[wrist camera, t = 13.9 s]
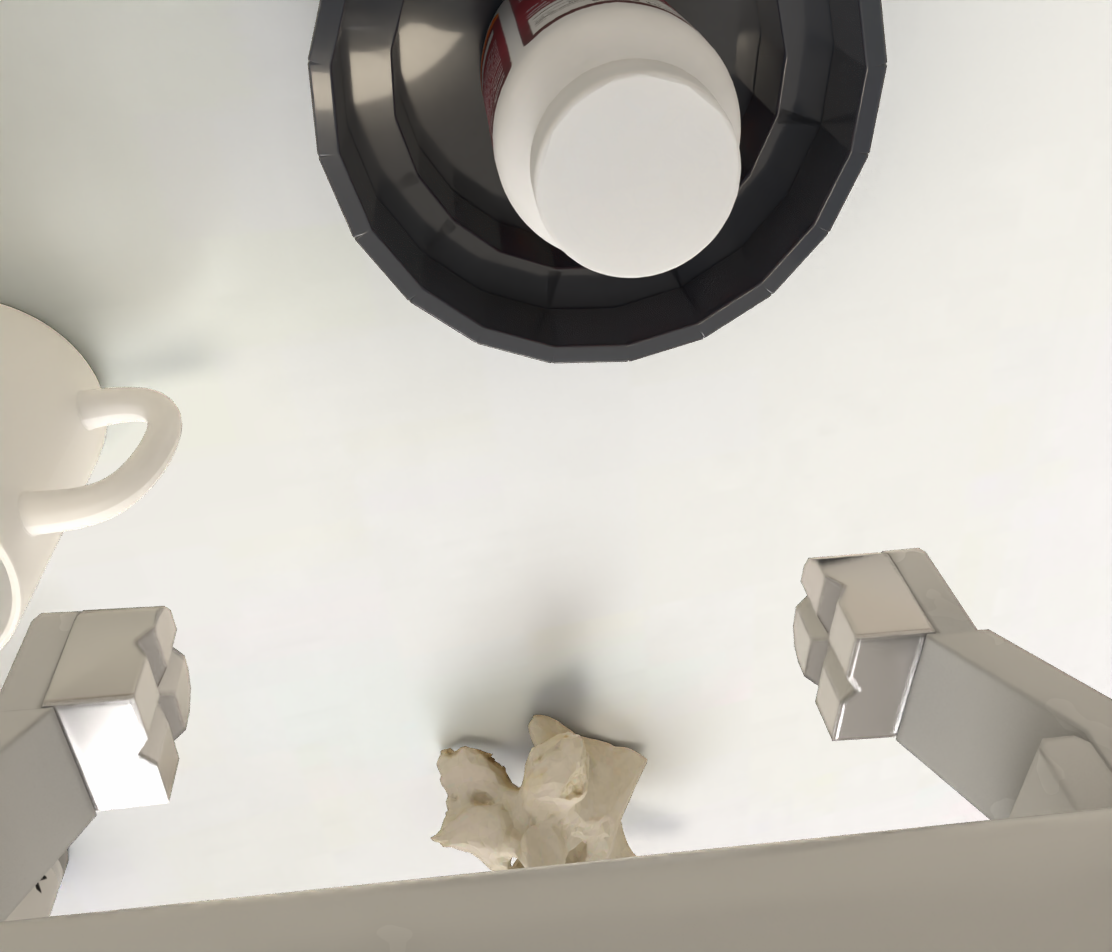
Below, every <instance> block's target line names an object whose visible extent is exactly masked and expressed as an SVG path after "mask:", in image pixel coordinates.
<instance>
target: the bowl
mask: <svg viewBox="0 0 1112 952" xmlns="http://www.w3.org/2000/svg"><path fill="white" fill-rule="evenodd" d="M503 1H504V0H320V3H319V8H318V12H317V17H316V22H315V27H314V32H313V37H312V41H311V46H310V51H309V56H308V60H309V62H308V70H309V80H310V89H311V98H312V107H313V117H314V126H315V135H316V145H317V153H318V155H319V160H320V163H321V165H322V167H323V169H324V172H325V174H326V176H327V179H328V181H329V183H330V185H331V188H332V190H333V192H334V195H335V197H336V199H337V201H338V204H339V206H340V208H341V211H342V213H343V215H344V217H345V220H346V222H347V224H348V226H349V229H350V231H351V233H352V236H353V237H355V240H356V241H357V242H358V244H359V245H360V246H361V247H362V248H363V249H364V250H365V252H366V253H367V254H368V255H369V256H370V257H371V259H372V260H373V261H374V262H375V263H376V264H377V265H378V267H379V268H380V269H381V270H382V271H383V272H384V273H385V275H386V276H387V277H388V278H389V279H390V280H391V282H392V283H393V284H394V285H395V286H396V287H397V288H398V290H399V291H400V292H401V293H402V294H403V295H404V296H405V298H406V299H407V300H410V302H411V303H412V304H414V305H416V306H417V307H419V308H420V309H422V310H424V311H425V312H427V313H428V314H430V315H432V316H433V317H435V318H437V319H438V320H440V321H441V322H443V323H445V324H446V325H448V326H449V327H451V328H453V329H454V330H456V331H457V332H459V333H461V334H462V335H464V336H466V337H467V338H469V339H470V340H472V341H474V342H477V343H478V344H480V345H484V346H488V347H492V348H495V349H499V350H503V351H506V352H510V353H514V354H518V355H521V356H525V357H529V358H533V359H536V360H540V361H544V362H548V363H551V362H552V363H591V362H627V361H628V360H629V361H633V360H636V359H640V358H643V357H646V356H649V355H653V354H656V353H659V352H662V351H666V350H669V349H672V348H675V347H679V346H682V345H685V344H688V343H692V342H695V341H698V340H701V339H703V337H704V338H705V337H707V336H709V335H710V334H712V333H713V332H715V331H716V330H718V329H720V328H721V327H723V326H724V325H726V324H727V323H729V322H731V321H732V320H734V319H735V318H737V317H738V316H740V315H742V314H743V313H745V312H746V311H748V310H749V309H751V308H753V307H754V306H756V305H757V304H759V303H760V302H762V301H764V300H765V299H767V298H768V297H770V296H771V294H773V293H774V292H775V291H776V290H777V289H778V288H779V287H780V286H781V285H782V284H783V283H784V281H785V280H786V279H787V278H788V277H789V276H790V275H791V274H792V273H793V272H794V271H795V269H796V268H797V267H798V266H799V265H800V264H801V263H802V262H803V261H804V260H805V258H806V257H807V256H808V255H809V254H810V253H811V252H812V251H813V250H814V249H815V248H816V246H817V245H818V244H819V243H820V242H821V241H822V240H823V239H824V238H825V237H826V235H827V234H828V232H829V231H830V230H831V228H832V226H833V224H834V222H835V220H836V218H837V216H838V214H839V212H840V210H841V208H842V206H843V204H844V203H845V201H846V199H847V197H848V195H849V193H850V191H851V189H852V187H853V185H854V183H855V181H856V179H857V177H858V175H859V173H860V171H861V169H862V167H863V165H864V163H865V162H866V160H867V158H868V153H869V152H870V148H871V143H872V138H873V133H874V128H875V123H876V118H877V113H878V108H879V103H880V98H881V93H882V88H883V83H884V78H885V73H886V68H887V65H886V63H887V55H886V44H885V34H884V24H883V14H882V4H881V0H665V1H666V2H667V3H668V4H669V5H670V6H671V7H672V8H673V9H674V10H675V11H676V12H677V13H679V14H680V15H681V16H682V17H683V18H684V19H685V20H686V21H687V22H688V23H689V24H691V25H692V26H693V27H694V28H695V29H696V30H697V31H698V32H699V33H700V34H701V35H702V36H703V37H704V38H705V39H706V41H707V42H708V43H709V44H710V45H711V46H712V47H713V49H714V50H715V51H716V52H717V54H718V55H719V57H720V58H721V60H722V61H723V63H724V65H725V66H726V68H727V70H728V72H729V75H730V77H731V79H732V81H733V84H734V87H735V91H736V94H737V98H738V103H739V109H740V120H741V135H740V145H739V150H740V158H741V175H740V183H739V189H738V194H737V197H736V200H735V202H734V205H733V208H732V210H731V213H730V215H729V217H728V219H727V220H726V222H725V224H724V225H723V227H722V228H721V230H720V231H719V233H718V234H717V235H716V237H715V238H714V239H713V240H712V241H711V242H710V243H709V244H708V245H707V246H706V247H705V248H704V249H703V250H702V251H701V252H699V253H698V254H697V255H696V256H694V257H693V258H692V259H690V260H688V261H687V262H685V263H684V264H682V265H680V266H678V267H676V268H674V269H671V270H669V271H666V272H664V273H660V274H657V275H652V276H646V277H639V278H621V277H614V276H608V275H605V274H601V273H598V272H595V271H592V270H590V269H588V268H586V267H584V266H582V265H581V264H579V263H577V262H576V261H575V260H573V259H572V258H570V257H569V256H568V255H567V254H566V253H565V252H564V251H562V250H561V249H559V248H557V247H555V246H553V245H552V244H550V243H548V242H547V241H545V240H544V239H543V238H541V237H540V236H539V235H537V234H536V233H535V232H534V231H533V230H532V229H531V228H530V227H529V226H528V225H527V224H526V223H525V222H524V221H523V220H522V219H521V218H520V216H519V215H518V213H517V212H516V211H515V209H514V208H513V206H512V205H511V203H510V201H509V199H508V197H507V195H506V193H505V191H504V189H503V186H502V183H501V181H500V177H499V174H498V171H497V167H496V163H495V159H494V154H493V147H492V141H491V136H490V132H489V124H488V119H487V114H486V109H485V104H484V99H483V95H482V88H481V58H482V51H483V46H484V42H485V37H486V34H487V31H488V28H489V25H490V23H491V21H492V19H493V17H494V15H495V13H496V12H497V10H498V8H499V7H500V5H501V4H502V3H503Z"/></svg>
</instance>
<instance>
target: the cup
mask: <svg viewBox="0 0 1112 952" xmlns="http://www.w3.org/2000/svg"><path fill="white" fill-rule="evenodd" d="M133 421H141V422H147V429H146V432H145V434H144V436H143V438H142V440H141V442H140V443H139V445H138V446H137V448H136V449H135V451H134V452H133V453H132V455H131V456H130V457H129V458H128V459H127V461H126V462H125V463H124V464H123V465H122V466H121V467H120V468H119V469H117V470H116V471H115V472H114V473H112V474H111V475H109V476H108V477H106V478H104V479H102V480H100V481H98V482H95V483H92V484H89V485H87V483H88V481H89V479H90V476H91V474H92V472H93V470H94V468H95V466H96V464H97V462H98V459H99V457H100V454H101V451H102V449H103V446H104V441H105V437H106V432H107V425H112V424H118V423H124V422H133ZM181 432H182V420H181V413H180V411H179V409H178V407H177V406H176V404H175V403H174V402H173V401H172V399H170V398H169V397H168V396H166V395H164V394H163V393H161V392H158V391H156V390H152V389H148V388H139V387H113V388H102V389H101V387H100V385H99V382H98V380H97V378H96V376H95V374H94V372H93V371H92V369H91V368H90V366H89V364H88V363H87V362H86V360H85V359H84V358H83V356H82V355H81V354H80V353H79V352H78V351H77V350H76V349H75V347H74V346H73V345H72V344H71V343H69V342H68V341H67V340H66V339H65V338H64V337H63V336H62V335H60V334H59V333H58V332H56V331H55V330H54V329H52V328H51V327H49V326H48V325H46V324H45V323H43V322H42V321H40V320H38V319H36V318H35V317H33V316H31V315H28V314H26V313H24V312H22V311H20V310H17V309H14V308H12V307H9V306H6V305H3V304H0V650H1V649H2V648H3V647H4V646H5V645H6V644H7V642H8V641H9V640H10V638H11V637H12V636H13V634H14V632H15V630H16V628H17V626H18V624H19V622H20V620H21V618H22V616H23V614H24V612H25V610H26V608H27V606H28V604H29V602H30V599H31V597H32V595H33V593H34V591H35V589H36V587H37V585H38V583H39V581H40V579H41V577H42V575H43V573H44V571H45V569H46V567H47V565H48V563H49V561H50V558H51V556H52V554H53V552H54V550H55V548H56V546H57V544H58V542H59V540H60V538H61V536H62V534H63V532H64V531H68V530H74V529H79V528H84V527H88V526H92V525H95V524H98V523H101V522H104V521H106V520H109V519H111V518H113V517H115V516H117V515H119V514H121V513H122V512H124V511H125V510H127V509H128V508H130V507H131V506H132V505H134V504H135V503H136V502H137V501H139V500H140V499H141V498H142V497H143V496H144V495H145V494H146V493H147V492H148V491H149V490H150V489H151V488H152V487H153V486H154V485H155V483H156V482H157V481H158V480H159V478H160V477H161V476H162V474H163V473H164V471H165V470H166V468H167V467H168V465H169V463H170V461H171V460H172V458H173V456H174V454H175V451H176V449H177V446H178V443H179V440H180V437H181Z"/></svg>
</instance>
